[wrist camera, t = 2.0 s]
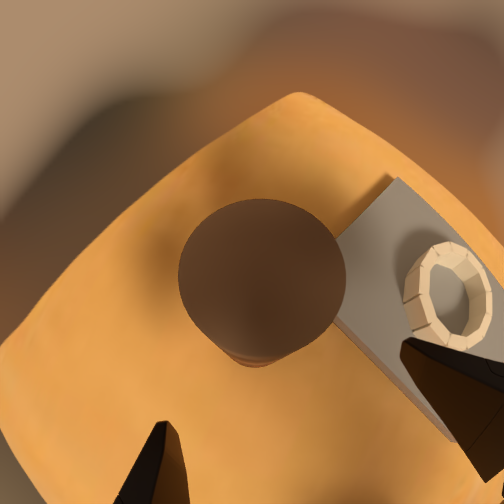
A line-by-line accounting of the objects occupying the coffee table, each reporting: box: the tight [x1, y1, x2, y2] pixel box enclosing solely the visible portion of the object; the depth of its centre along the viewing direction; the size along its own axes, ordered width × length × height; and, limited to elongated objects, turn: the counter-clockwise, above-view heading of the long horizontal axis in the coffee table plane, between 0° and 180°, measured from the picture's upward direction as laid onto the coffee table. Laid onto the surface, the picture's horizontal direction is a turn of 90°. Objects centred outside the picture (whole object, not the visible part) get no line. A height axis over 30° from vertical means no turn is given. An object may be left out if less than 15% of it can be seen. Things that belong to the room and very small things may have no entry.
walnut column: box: [178, 199, 346, 367], centre depth 14 cm, size 5×5×13 cm
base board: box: [333, 177, 504, 443], centre depth 18 cm, size 22×16×4 cm
